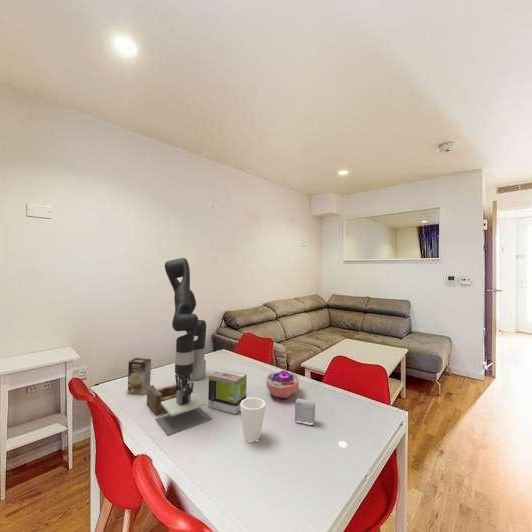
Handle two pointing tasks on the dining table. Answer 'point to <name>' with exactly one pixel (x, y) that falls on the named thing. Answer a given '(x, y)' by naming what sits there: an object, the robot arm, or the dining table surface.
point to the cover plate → (184, 407)
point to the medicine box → (305, 410)
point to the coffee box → (139, 376)
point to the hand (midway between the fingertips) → (183, 401)
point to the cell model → (282, 384)
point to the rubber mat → (182, 421)
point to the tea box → (226, 390)
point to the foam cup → (252, 417)
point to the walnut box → (160, 397)
